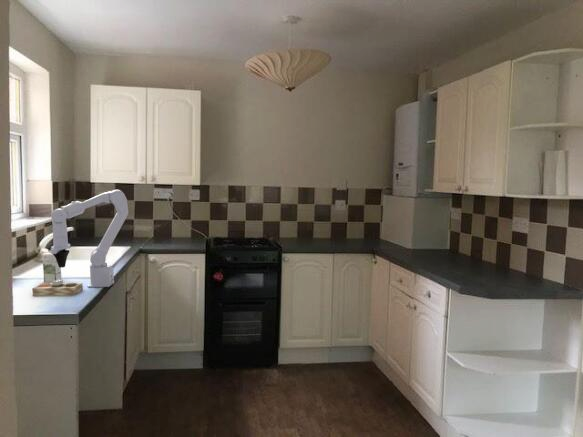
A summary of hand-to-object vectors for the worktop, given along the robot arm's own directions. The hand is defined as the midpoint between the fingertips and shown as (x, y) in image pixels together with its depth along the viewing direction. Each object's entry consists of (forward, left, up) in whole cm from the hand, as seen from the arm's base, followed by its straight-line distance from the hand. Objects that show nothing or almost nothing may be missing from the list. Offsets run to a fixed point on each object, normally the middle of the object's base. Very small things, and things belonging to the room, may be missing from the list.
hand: (62, 267), depth 213 cm
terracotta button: (+5, +7, -8) cm, 12 cm away
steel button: (-1, +7, -7) cm, 10 cm away
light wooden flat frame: (-1, +7, -9) cm, 12 cm away
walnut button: (-7, +7, -8) cm, 13 cm away
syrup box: (+8, -8, -10) cm, 15 cm away
